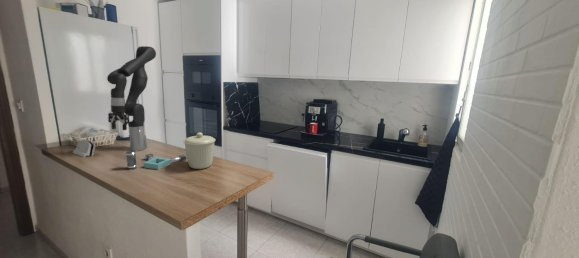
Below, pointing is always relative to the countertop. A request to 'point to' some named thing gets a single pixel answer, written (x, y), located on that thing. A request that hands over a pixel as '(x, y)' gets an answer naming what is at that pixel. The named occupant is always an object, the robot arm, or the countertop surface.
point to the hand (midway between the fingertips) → (119, 129)
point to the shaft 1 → (149, 157)
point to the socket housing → (156, 163)
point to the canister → (199, 150)
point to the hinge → (84, 148)
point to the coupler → (131, 160)
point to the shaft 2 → (178, 159)
